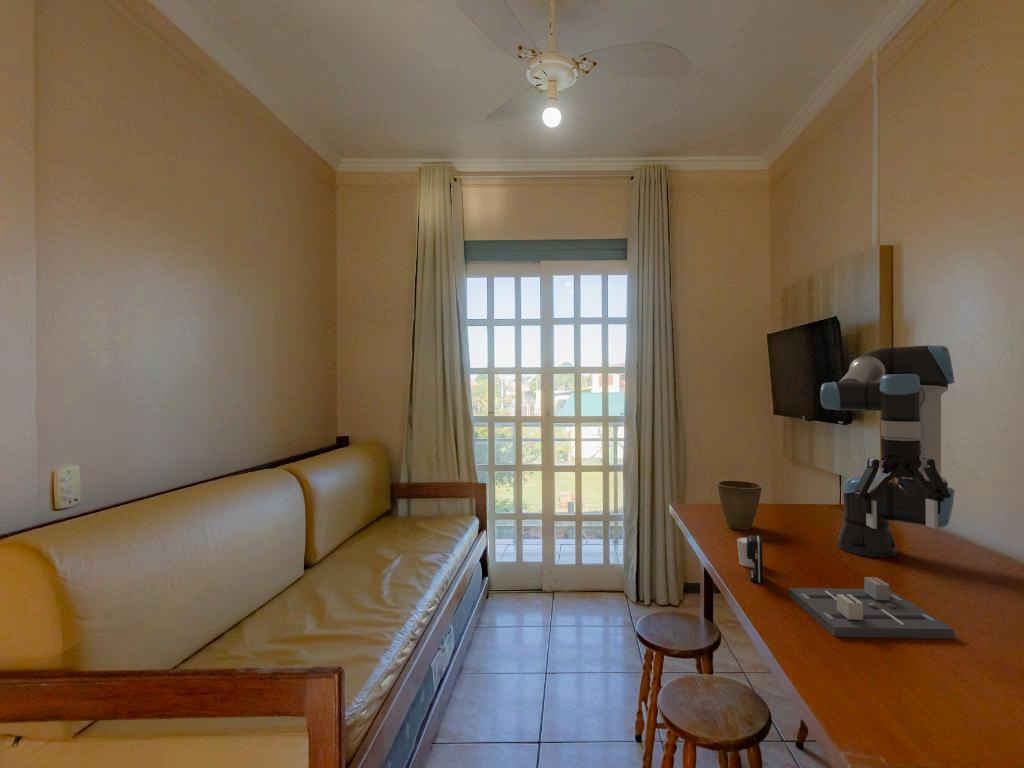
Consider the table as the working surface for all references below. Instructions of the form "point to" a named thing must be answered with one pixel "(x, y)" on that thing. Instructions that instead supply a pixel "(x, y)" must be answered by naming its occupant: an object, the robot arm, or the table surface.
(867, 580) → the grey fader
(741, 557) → the grey rimmed cylinder
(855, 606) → the cream fader
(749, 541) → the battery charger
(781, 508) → the table surface
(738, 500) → the plant pot
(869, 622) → the console
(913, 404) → the robot arm
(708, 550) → the table surface
